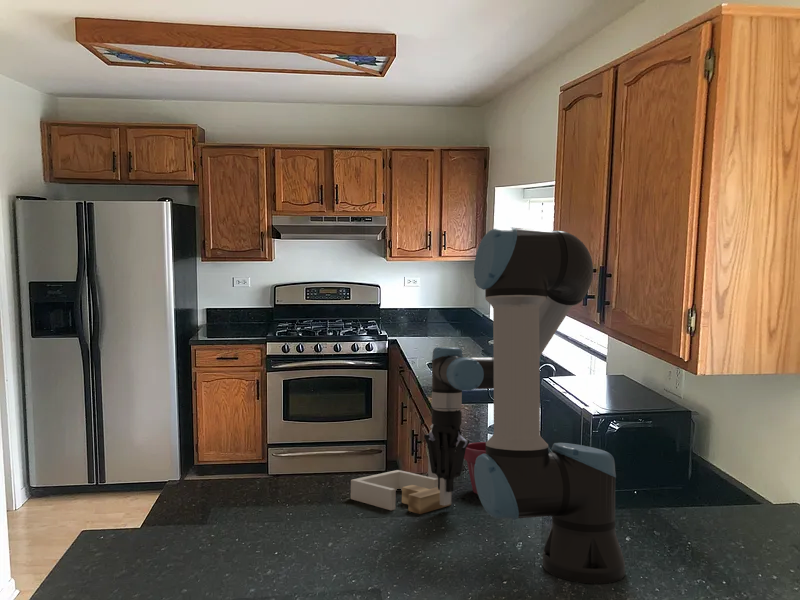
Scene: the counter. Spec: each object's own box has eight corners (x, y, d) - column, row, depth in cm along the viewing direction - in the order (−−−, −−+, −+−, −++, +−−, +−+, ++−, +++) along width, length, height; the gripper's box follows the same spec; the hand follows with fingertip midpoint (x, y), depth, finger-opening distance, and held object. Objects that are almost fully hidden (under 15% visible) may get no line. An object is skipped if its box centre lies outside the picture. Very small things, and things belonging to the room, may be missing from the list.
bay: (437, 497, 175) (438, 478, 175) (391, 510, 162) (391, 490, 162) (397, 487, 185) (397, 469, 185) (350, 498, 172) (350, 479, 172)
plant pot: (455, 494, 178) (456, 447, 179) (472, 483, 191) (473, 440, 191) (506, 501, 172) (507, 452, 173) (520, 489, 185) (520, 444, 185)
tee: (451, 505, 168) (451, 489, 168) (420, 514, 159) (420, 497, 159) (422, 497, 175) (422, 482, 175) (390, 505, 166) (391, 489, 166)
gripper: (476, 410, 161) (475, 506, 160) (436, 405, 170) (435, 496, 169) (457, 412, 155) (456, 512, 154) (417, 407, 164) (415, 501, 163)
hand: (445, 504), depth 162 cm, fingers closed
